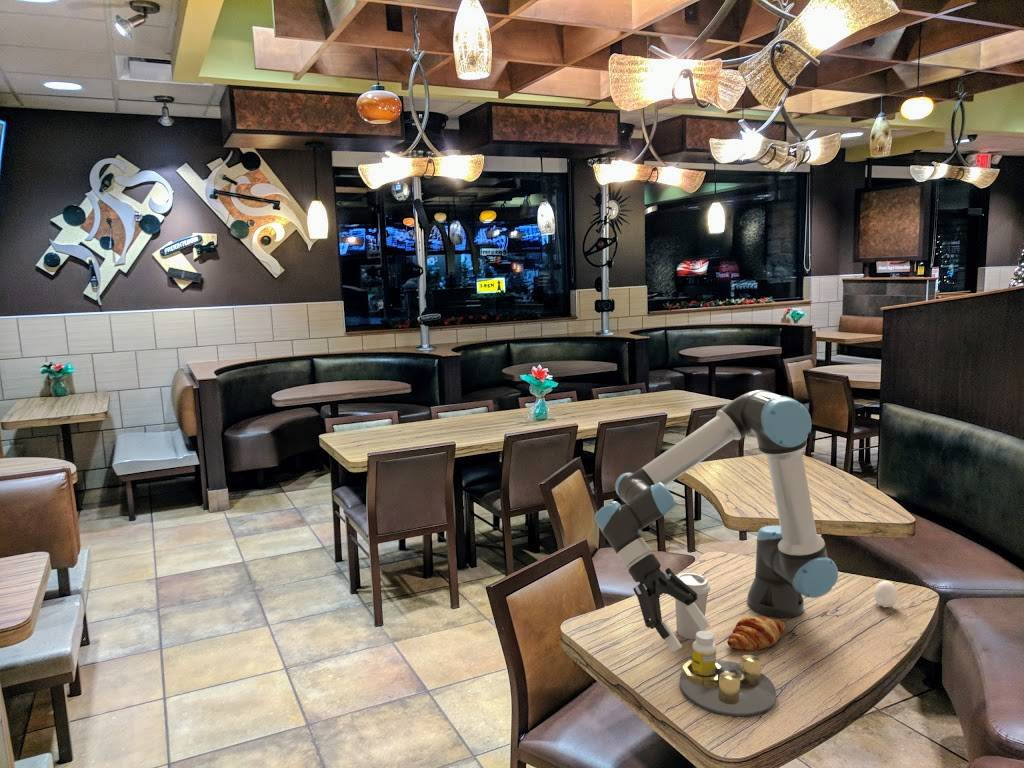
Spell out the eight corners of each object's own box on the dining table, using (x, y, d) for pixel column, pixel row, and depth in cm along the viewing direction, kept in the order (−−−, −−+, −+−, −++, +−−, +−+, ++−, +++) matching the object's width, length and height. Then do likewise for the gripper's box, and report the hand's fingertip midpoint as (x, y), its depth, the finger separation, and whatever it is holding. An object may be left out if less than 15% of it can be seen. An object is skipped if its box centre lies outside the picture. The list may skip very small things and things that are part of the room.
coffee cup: (709, 643, 191) (711, 588, 188) (671, 639, 193) (673, 585, 190) (707, 626, 200) (709, 573, 198) (670, 623, 202) (672, 570, 200)
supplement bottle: (688, 668, 176) (689, 629, 174) (710, 667, 176) (712, 628, 175) (695, 680, 171) (697, 640, 169) (718, 679, 171) (720, 639, 170)
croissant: (772, 638, 201) (762, 608, 203) (802, 635, 193) (792, 604, 195) (719, 659, 189) (710, 627, 191) (750, 657, 181) (739, 623, 183)
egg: (868, 603, 214) (870, 578, 213) (886, 601, 216) (888, 576, 215) (883, 612, 209) (885, 586, 207) (901, 610, 210) (904, 584, 209)
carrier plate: (750, 663, 181) (752, 638, 180) (793, 714, 161) (795, 686, 160) (667, 668, 179) (668, 643, 178) (699, 720, 158) (700, 692, 157)
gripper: (657, 554, 193) (707, 627, 186) (600, 583, 175) (653, 665, 167) (675, 539, 189) (728, 613, 181) (619, 568, 171) (675, 651, 163)
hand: (692, 638), depth 174 cm, fingers open, 13 cm apart
